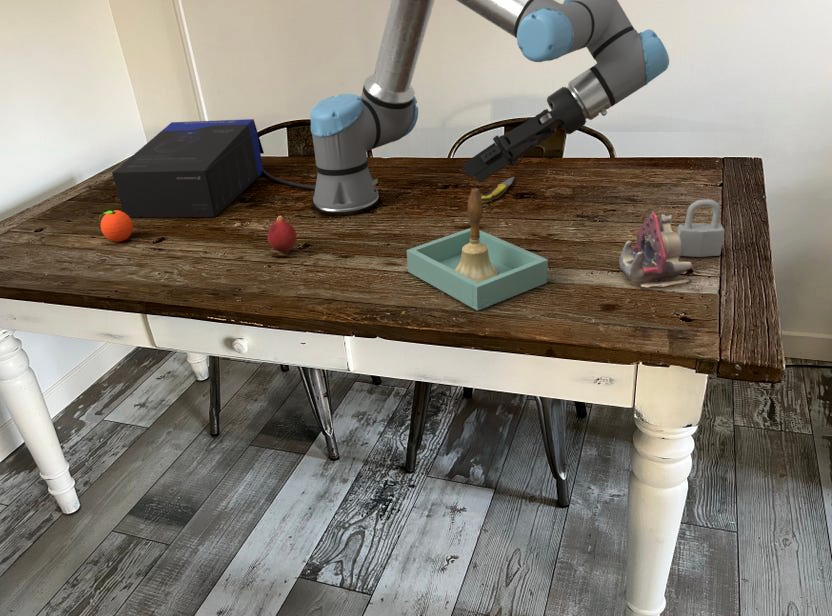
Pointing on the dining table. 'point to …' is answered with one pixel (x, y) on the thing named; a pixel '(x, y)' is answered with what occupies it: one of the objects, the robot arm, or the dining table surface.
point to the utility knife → (497, 191)
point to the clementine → (116, 225)
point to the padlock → (701, 232)
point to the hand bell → (475, 245)
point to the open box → (438, 270)
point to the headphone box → (190, 169)
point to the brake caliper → (654, 254)
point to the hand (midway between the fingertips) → (470, 174)
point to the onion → (282, 235)
